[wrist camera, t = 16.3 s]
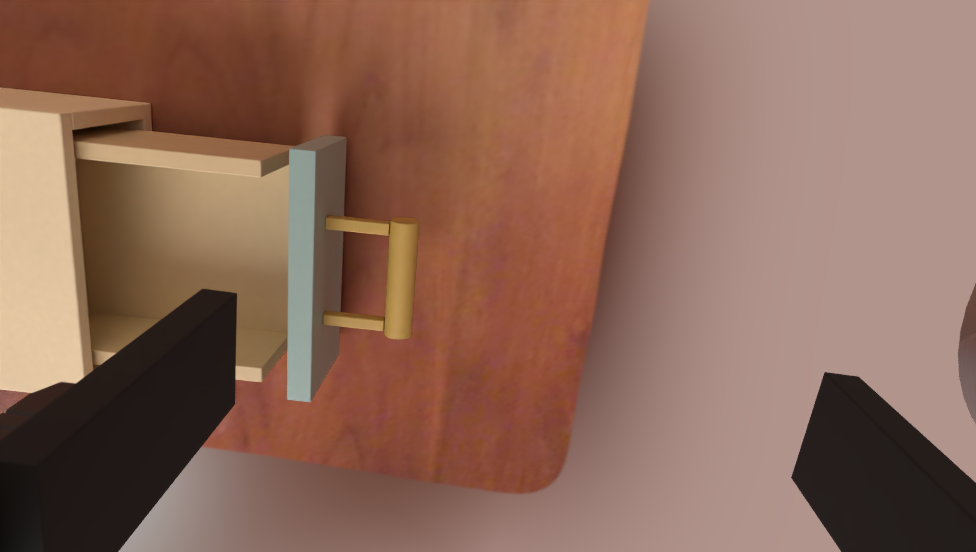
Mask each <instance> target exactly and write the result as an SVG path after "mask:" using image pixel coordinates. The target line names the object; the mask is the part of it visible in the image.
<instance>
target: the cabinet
mask: <svg viewBox="0 0 976 552" xmlns="http://www.w3.org/2000/svg"><path fill="white" fill-rule="evenodd" d="M96 126H106V127H116V128H126V129H135V130H145V131H152V120H151V104H150V103H145V102H136V101H126V100H117V99H107V98H97V97H88V96H78V95H69V94H59V93H49V92H40V91H30V90H21V89H11V88H1V87H0V389H2V390H11V391H21V392H30V393H33V392H36V391H38V390H41V389H44V388H46V387H49V386H51V385H54V384H56V383H59V382H68V383H75V384H76V383H77V382H78V381H80V380H81V379H82V378H84V377H85V376H86V375H88V374H89V373H90V372H92V371H93V370H94V369H96V368H97V367H98V366H100V365H95V364H92V352H91V341H90V329H89V318H88V306H87V295H86V283H85V272H84V260H83V249H82V237H81V226H80V214H79V203H78V191H77V180H76V168H75V157H74V145H73V134H72V130H76V129H83V128H89V127H96Z"/></svg>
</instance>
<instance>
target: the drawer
mask: <svg viewBox="0 0 976 552" xmlns="http://www.w3.org/2000/svg"><path fill="white" fill-rule="evenodd" d="M72 134H73V145H74V157H75V168H76V180H77V191H78V203H79V214H80V226H81V237H82V249H83V260H84V272H85V283H86V295H87V306H88V318H89V329H90V341H91V352H92V364H95V365H101V364H102V363H104V362H105V361H106V360H108V359H109V358H110V357H112V356H113V355H114V354H116V353H117V352H118V351H120V350H121V349H122V348H124V347H125V346H126V345H128V344H129V343H130V342H132V341H133V340H134V339H136V338H137V337H138V336H140V335H141V334H142V333H144V332H145V331H146V330H148V329H149V328H150V327H152V326H153V325H154V324H156V323H157V322H158V321H160V320H161V319H162V318H164V317H165V316H166V315H168V314H169V313H170V312H172V311H173V310H174V309H176V308H177V307H178V306H180V305H181V304H182V303H184V302H185V301H186V300H188V299H189V298H190V297H192V296H193V295H194V294H196V293H197V292H198V291H200V290H201V289H202V288H203V289H210V290H218V291H225V292H233V293H237V327H236V378H235V379H236V380H246V381H255V382H262V381H263V380H264V379H265V377H266V376H267V375H268V373H269V372H270V371H271V370H272V368H273V367H274V366H275V365H276V363H277V362H278V361H279V359H280V358H281V357H282V356H283V354H284V353H285V352H286V351H287V400H295V401H305V402H311V400H312V399H313V397H314V395H315V394H316V392H317V390H318V389H319V387H320V385H321V384H322V382H323V380H324V379H325V377H326V375H327V374H328V372H329V370H330V369H331V367H332V365H333V363H334V362H335V360H336V358H337V357H338V355H339V345H340V327H350V328H359V329H369V330H378V331H383V330H384V334H385V336H387V337H388V338H391V339H406V338H409V337H410V336H411V335H412V322H413V308H414V294H415V279H416V265H417V250H418V236H419V221H418V220H417V219H414V218H409V217H395V218H392V219H391V220H390V221H383V220H373V219H364V218H354V217H345V216H344V201H345V172H346V143H347V138H346V137H341V136H331V135H323V136H320V137H318V138H315V139H313V140H310V141H307V142H305V143H302V144H300V145H297V146H288V145H279V144H269V143H260V142H250V141H240V140H231V139H221V138H212V137H202V136H193V135H183V134H173V133H164V132H154V131H145V130H135V129H126V128H116V127H106V126H96V127H89V128H83V129H76V130H72ZM343 231H349V232H358V233H368V234H377V235H387V236H388V235H389V234H390V235H389V253H388V271H387V289H386V306H385V317H382V316H373V315H364V314H354V313H345V312H341V288H342V259H343Z"/></svg>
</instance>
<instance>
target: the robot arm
mask: <svg viewBox="0 0 976 552" xmlns="http://www.w3.org/2000/svg"><path fill="white" fill-rule="evenodd" d="M236 327H237V293H233V292H225V291H218V290H210V289H203V288H202V289H201V290H200V291H198V292H197V293H196V294H194V295H193V296H192V297H190V298H189V299H188V300H186V301H185V302H184V303H182V304H181V305H180V306H178V307H177V308H176V309H174V310H173V311H172V312H170V313H169V314H168V315H166V316H165V317H164V318H162V319H161V320H160V321H158V322H157V323H156V324H154V325H153V326H152V327H150V328H149V329H148V330H146V331H145V332H144V333H142V334H141V335H140V336H138V337H137V338H136V339H134V340H133V341H132V342H130V343H129V344H128V345H126V346H125V347H124V348H122V349H121V350H120V351H118V352H117V353H116V354H114V355H113V356H112V357H110V358H109V359H108V360H106V361H105V362H104V363H102V364H101V365H100V366H98V367H97V368H96V369H94V370H93V371H92V372H90V373H89V374H88V375H86V376H85V377H84V378H82V379H81V380H80V381H78V382H77V383H76V384H75V383H68V382H59V383H56V384H54V385H51V386H49V387H46V388H44V389H41V390H38V391H36V392H33V393H31V394H29V395H27V396H26V397H25V398H23V399H22V400H20V401H19V402H17V403H16V404H15V405H13V406H12V407H10V408H9V409H7V412H6V414H4V413H2V414H0V552H118V551H119V550H120V549H121V547H122V546H123V545H124V544H125V542H126V541H127V540H128V538H129V537H130V536H131V535H132V533H133V532H134V531H135V529H136V528H137V527H138V526H139V525H140V523H141V522H142V521H143V520H144V518H145V517H146V516H147V514H148V513H149V512H150V511H151V509H152V508H153V507H154V506H155V504H156V503H157V502H158V500H159V499H160V498H161V497H162V496H163V494H164V493H165V491H167V489H168V488H169V487H170V485H171V484H172V483H173V482H174V480H175V479H176V478H177V477H178V475H179V474H180V473H181V472H182V470H183V469H184V468H185V466H186V465H187V464H188V463H189V461H190V460H191V459H192V458H193V456H194V455H195V454H196V453H197V451H198V450H199V449H200V448H201V446H202V445H203V444H204V443H205V441H206V440H207V439H208V438H209V436H210V435H211V434H212V432H213V431H214V430H215V429H216V427H217V426H218V425H219V424H220V422H221V421H222V420H223V419H224V417H225V416H226V415H227V414H228V412H229V411H230V410H231V408H232V407H233V406H234V405H235V378H236ZM791 478H792V479H793V481H794V482H795V484H796V485H797V487H798V488H799V490H800V491H801V493H802V494H803V496H804V497H805V499H806V500H807V502H808V503H809V504H810V506H811V508H812V509H813V511H814V512H815V513H816V515H817V516H818V518H819V519H820V521H821V522H822V524H823V525H824V527H825V528H826V530H827V531H828V533H829V534H830V536H831V537H832V538H833V540H834V541H835V543H836V544H837V546H838V547H839V549H840V550H841V552H976V483H975V482H974V481H973V480H972V479H971V478H970V477H969V476H967V475H966V474H965V473H964V472H963V471H962V470H961V469H960V468H959V467H958V466H956V465H955V464H954V463H953V462H952V461H951V460H950V459H949V458H948V457H947V456H945V455H944V454H943V453H942V452H941V451H940V450H939V449H938V448H937V447H935V446H934V445H933V444H932V443H931V442H930V441H929V440H928V439H927V438H926V437H924V436H923V435H922V434H921V433H920V432H919V431H918V430H917V429H916V428H914V427H913V426H912V425H911V424H910V423H909V422H908V421H907V420H906V419H905V418H903V417H902V416H901V415H900V414H899V413H898V412H897V411H896V410H895V409H894V408H892V407H891V406H890V405H889V404H888V403H887V402H886V401H885V400H884V399H883V398H881V397H880V396H879V395H878V394H877V393H876V392H875V391H874V390H873V389H871V388H870V387H869V386H868V385H867V384H866V383H865V382H864V381H863V380H861V379H860V378H859V377H857V376H849V375H841V374H834V373H827V372H825V373H824V376H823V379H822V383H821V386H820V389H819V392H818V395H817V398H816V401H815V404H814V408H813V411H812V414H811V417H810V421H809V423H808V427H807V430H806V433H805V436H804V439H803V442H802V446H801V449H800V452H799V455H798V458H797V461H796V465H795V468H794V471H793V474H792V477H791Z"/></svg>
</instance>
